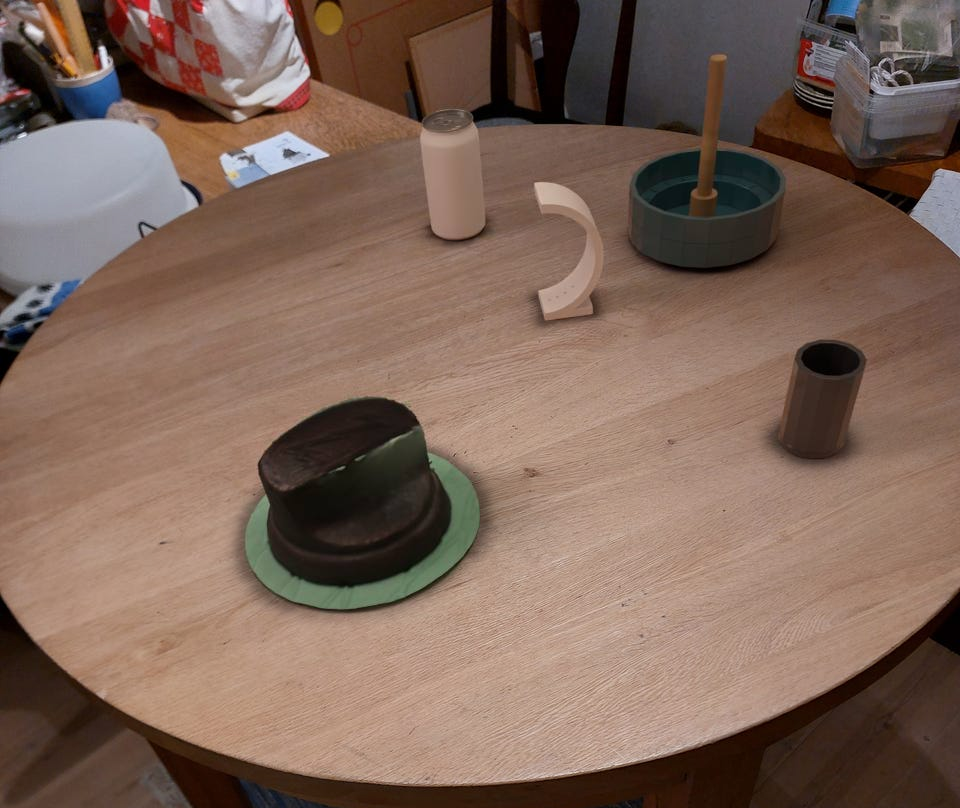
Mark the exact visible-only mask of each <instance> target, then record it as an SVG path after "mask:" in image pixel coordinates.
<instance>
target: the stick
mask: <svg viewBox="0 0 960 808" xmlns="http://www.w3.org/2000/svg"><path fill="white" fill-rule="evenodd" d="M727 60H728V57H727V55H725V54H721V53H720V54H719V53H718V54H712V55H710V57H709V64H708V65H709V66H708V74H707V75H708V76H707V84H706V95H705V105H704V106H705V107H704V115H703V125H702V134H701V135H702V136H701V146H700V148H701V155H700V165H699V175H698V185H697V188H696V189H694V190H693V191H692V192H691V199H690V209H689V216H700V217H714V216H715V211H716V202H717V194H718V193H717V191H716V190H715V189H713V179H714V170H715V161H716V152H717V148H718V142H719V132H720V125H721V124H720V123H721V117H722V115H721V114H722V105H723V98H724V89H725V80H726V72H727V71H726V70H727V62H728V61H727Z"/></svg>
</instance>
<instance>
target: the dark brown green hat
mask: <svg viewBox="0 0 960 808" xmlns="http://www.w3.org/2000/svg"><path fill="white" fill-rule="evenodd" d="M409 408H412V407H411V405H410V402H409V401H408V402H399V401H398V400H397V399H393V398H392V399H391V398H390V399H389V398H387V396H372V395H371V396H369V395H366V396H362V397H349V398H347V399H345V400H342V401H340V402H337V403H334V404H332V405H330V406H327V407H322V408H320V409H318V410H317V411H315V412H314V413H312V414H310V415H308V416H307V417H305V418H303V419H302V420H301V421H299V422H298V423H296V424H295V425H293V426H292V427H291V428H289V429H287V430H285V431H284V432H282V434H280V435H279V436H278V437H277V438H276V439H275V440H273V441H272V442H271V444H270V445H269V446H268V447H267V448H266V449H265V450H264V452H263V453H262V455H261V457H260V459H258V462H257V471H258V472H257V473H258V477H259V479H260V482H261V484H262V487H263V489H264V493H265V495H263V497H262V498H261V500H259V502H258V503H257V505H256V506H255V508H254V510H253V511H252V513H251V515H250V517H249V520H248V523H247V524H246V525H247V526H246V529H245V533H244V549H245V555H246V558H247V561H248V564H249V566H250V568H251V570H252V572H254V574H255V575H256V577H257V578H258V579H259V581H261V583H262V584H263V586H265V587H267V588H268V589H269V590H271V591H272V592H273V593H274V594H276V595H278V596H281V597H283V598H285V599H287V600H288V601H291V602H293V603H298V604H303V605H308V606H311V607H316V608H319V609H327V610H328V609H330V610H351V609H358V608H359V609H360V608H365V607H372V606H376V605H381V604H387V603H392V602H394V601H397V600H401V599H404V598H405V597H407V596H410V595H411V594H413V593H416V592H418V591H419V590H422V589H423V588H425V587H426V586H428V585H429V584H431V583H433V582H435V580H436V579H438V578H440V577H441V576H442V575H444V574H445V573H447V572H448V571H449V570H451V568H453V567H454V566H455V565H456V564H457V563H458V562H459V561H460V560H461V559H462V558H463V557H464V555H465V554H466V553H467V551H468V550H469V549H470V548H471V546H472V544H473V543H474V541H475V539H476V537H477V533H478V530H479V528H480V521H481V520H480V519H481V518H480V517H481V509H480V502H479V498H478V495H477V493H476V490H475V488H474V486H473V484H472V481H471V480H470V479H469V478H468V476H466V475H465V474H464V473H463V472H462V471H461V470H460V469H458V468H457V467H456V466H455V465H454V464H452V463H451V462H450V461H448V460H446V459H444V458H442V457H440V456H438V455H436V454H434V453H431V452H428V447H427V441H426V436H425V431H424V429H423V426H422V425H421V423H420V421H419V419H418V416H417V415H416V414H415V413H414V412H413V410H412V409H409Z"/></svg>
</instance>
